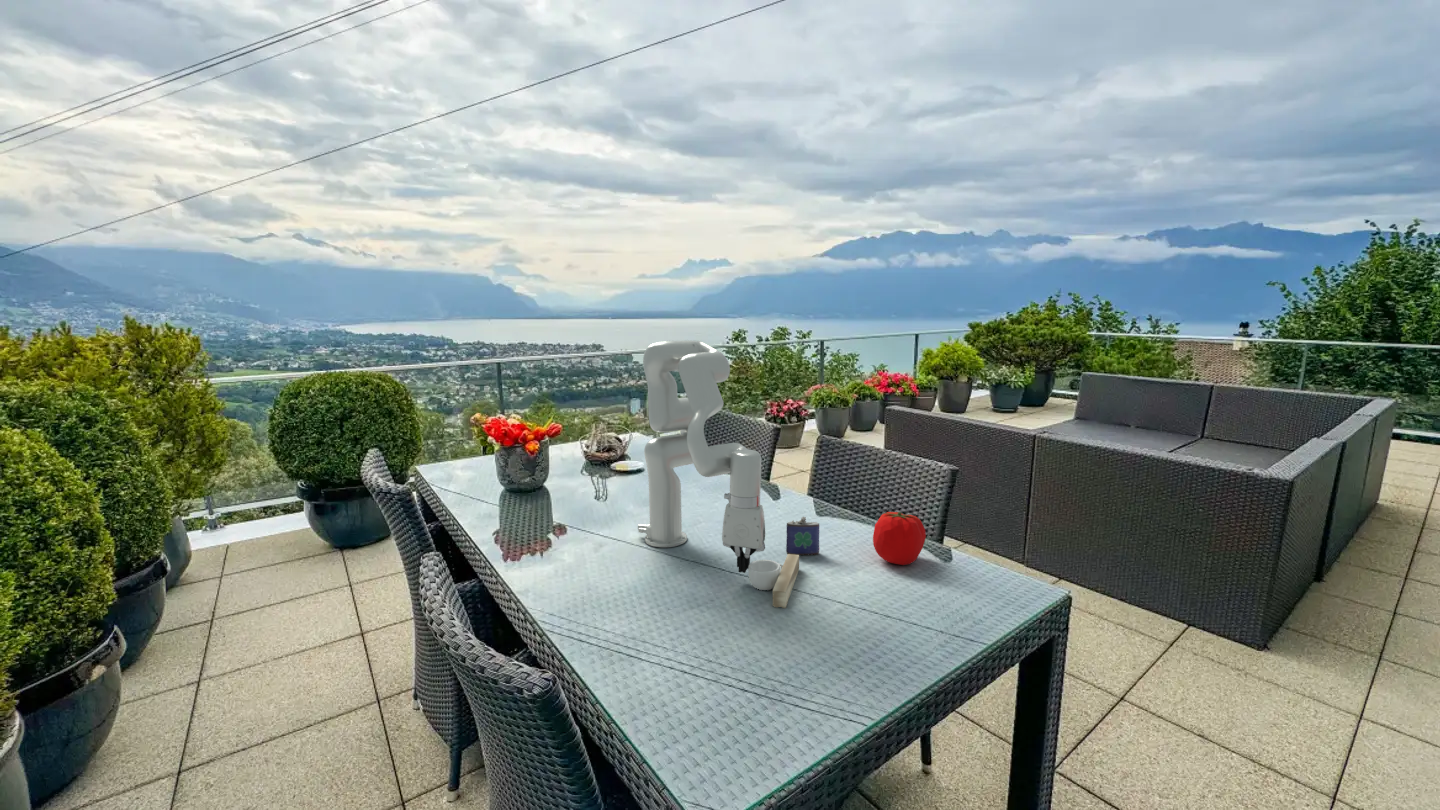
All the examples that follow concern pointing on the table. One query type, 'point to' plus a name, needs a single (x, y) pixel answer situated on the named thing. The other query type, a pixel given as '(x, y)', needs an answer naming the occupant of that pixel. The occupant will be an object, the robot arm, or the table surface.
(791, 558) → the wooden bar
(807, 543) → the clover hip flask
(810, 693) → the table surface
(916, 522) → the tomato
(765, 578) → the teacup
